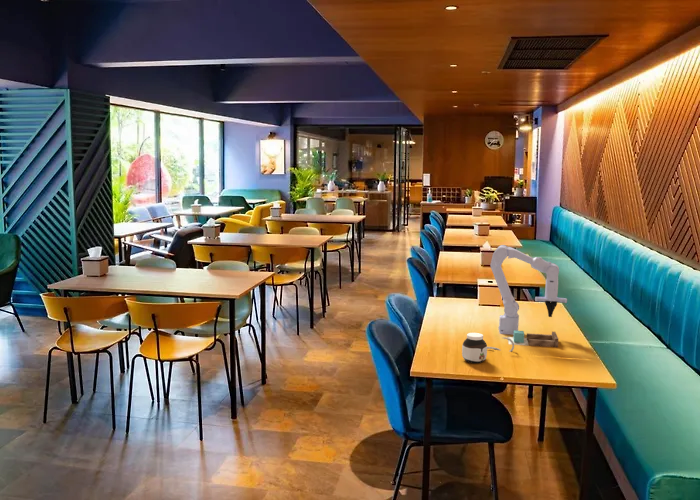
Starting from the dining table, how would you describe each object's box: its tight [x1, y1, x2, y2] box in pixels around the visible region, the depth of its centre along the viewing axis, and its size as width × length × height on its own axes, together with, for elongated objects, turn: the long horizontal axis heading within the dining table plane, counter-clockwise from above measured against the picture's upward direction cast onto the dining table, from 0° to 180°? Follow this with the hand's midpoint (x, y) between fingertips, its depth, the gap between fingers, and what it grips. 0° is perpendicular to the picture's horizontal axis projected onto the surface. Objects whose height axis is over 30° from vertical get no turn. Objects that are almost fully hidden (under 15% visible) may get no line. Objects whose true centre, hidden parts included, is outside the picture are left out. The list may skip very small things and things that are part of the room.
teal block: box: [512, 330, 525, 343], centre depth 294 cm, size 4×4×4 cm
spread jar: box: [461, 332, 488, 364], centre depth 269 cm, size 12×11×12 cm
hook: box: [487, 336, 515, 352], centre depth 282 cm, size 7×9×20 cm
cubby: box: [506, 331, 559, 348], centre depth 293 cm, size 22×12×5 cm, turn 79°
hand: (550, 316), depth 302 cm, fingers closed
